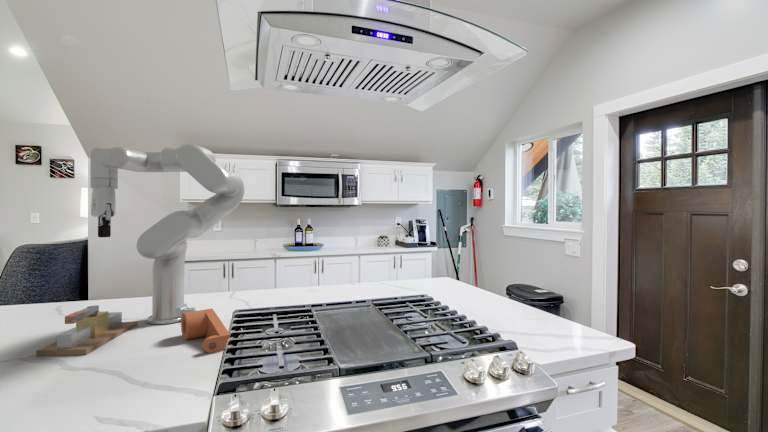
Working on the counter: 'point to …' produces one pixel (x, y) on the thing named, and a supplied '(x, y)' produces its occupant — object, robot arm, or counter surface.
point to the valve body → (89, 329)
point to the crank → (205, 329)
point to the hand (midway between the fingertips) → (104, 236)
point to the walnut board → (87, 342)
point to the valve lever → (81, 314)
